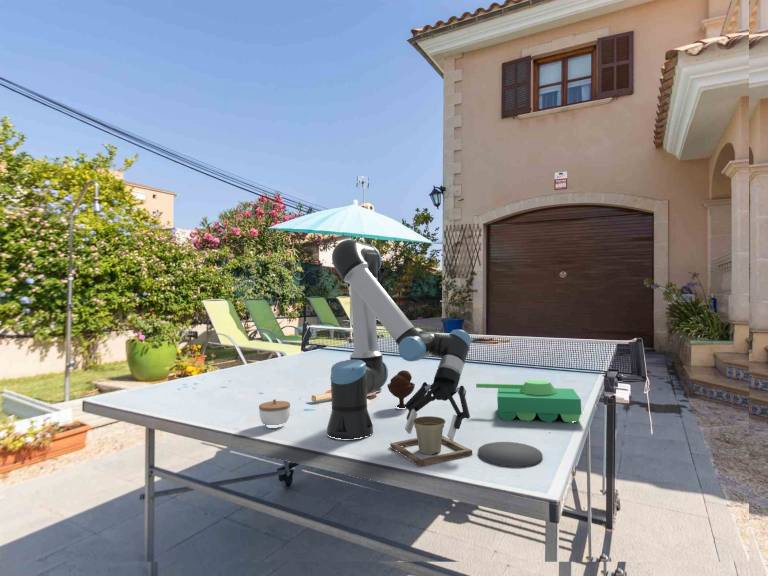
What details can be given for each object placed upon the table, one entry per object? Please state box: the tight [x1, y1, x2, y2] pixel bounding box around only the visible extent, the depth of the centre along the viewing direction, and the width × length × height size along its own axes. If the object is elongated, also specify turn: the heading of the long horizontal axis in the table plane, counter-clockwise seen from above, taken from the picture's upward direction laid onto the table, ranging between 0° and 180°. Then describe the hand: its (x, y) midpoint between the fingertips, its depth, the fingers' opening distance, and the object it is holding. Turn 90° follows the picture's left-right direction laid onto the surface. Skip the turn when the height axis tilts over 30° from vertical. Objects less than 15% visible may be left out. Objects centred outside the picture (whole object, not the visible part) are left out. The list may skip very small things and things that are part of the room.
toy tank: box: [475, 380, 582, 423], centre depth 158 cm, size 18×12×35 cm
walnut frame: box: [389, 435, 473, 467], centre depth 124 cm, size 17×17×1 cm
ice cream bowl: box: [386, 369, 416, 408], centre depth 173 cm, size 11×11×15 cm
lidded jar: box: [258, 399, 291, 426], centre depth 153 cm, size 11×11×9 cm
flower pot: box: [413, 415, 446, 455], centre depth 124 cm, size 9×9×9 cm
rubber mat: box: [477, 441, 543, 468], centre depth 119 cm, size 17×17×1 cm
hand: (428, 434), depth 122 cm, fingers open, 13 cm apart
